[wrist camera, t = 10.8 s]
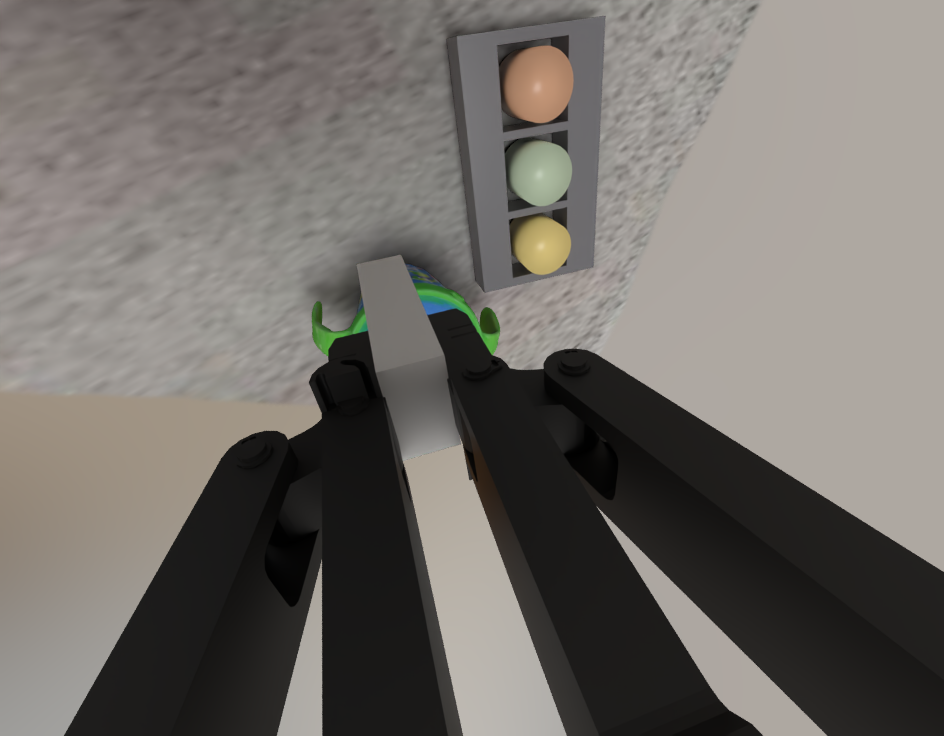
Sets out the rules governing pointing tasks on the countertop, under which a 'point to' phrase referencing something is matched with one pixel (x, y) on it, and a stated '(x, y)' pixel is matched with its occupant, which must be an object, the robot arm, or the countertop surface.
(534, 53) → the button terracotta
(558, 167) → the button sage
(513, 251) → the button mustard
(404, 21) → the countertop surface
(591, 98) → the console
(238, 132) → the countertop surface
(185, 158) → the countertop surface
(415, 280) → the snack cup
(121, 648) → the robot arm
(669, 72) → the countertop surface
